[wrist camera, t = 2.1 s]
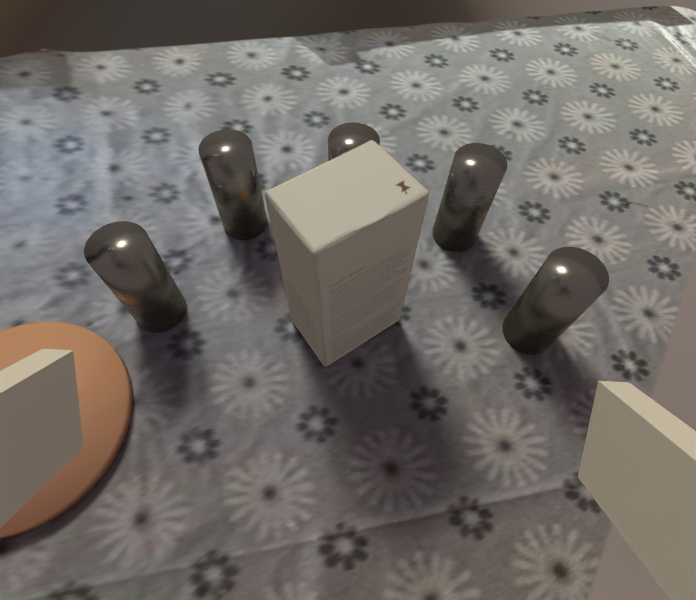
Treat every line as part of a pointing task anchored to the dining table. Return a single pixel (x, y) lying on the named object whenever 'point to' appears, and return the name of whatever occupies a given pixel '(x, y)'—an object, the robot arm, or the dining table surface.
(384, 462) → the dining table surface
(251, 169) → the set of grey cylinders
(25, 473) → the robot arm
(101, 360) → the saucer
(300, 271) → the skincare box
